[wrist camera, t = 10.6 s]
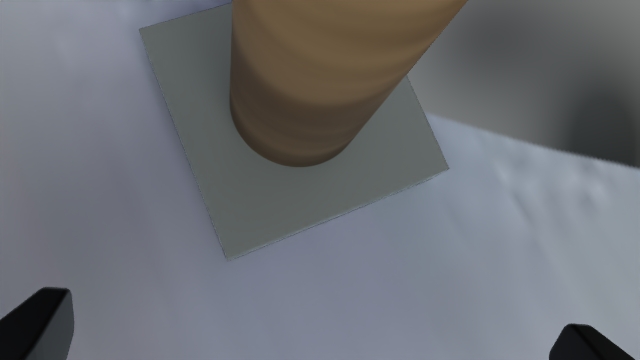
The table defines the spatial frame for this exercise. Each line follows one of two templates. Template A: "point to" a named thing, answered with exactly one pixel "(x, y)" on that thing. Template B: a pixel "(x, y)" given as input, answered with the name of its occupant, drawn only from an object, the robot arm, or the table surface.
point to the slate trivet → (266, 176)
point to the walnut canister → (322, 69)
